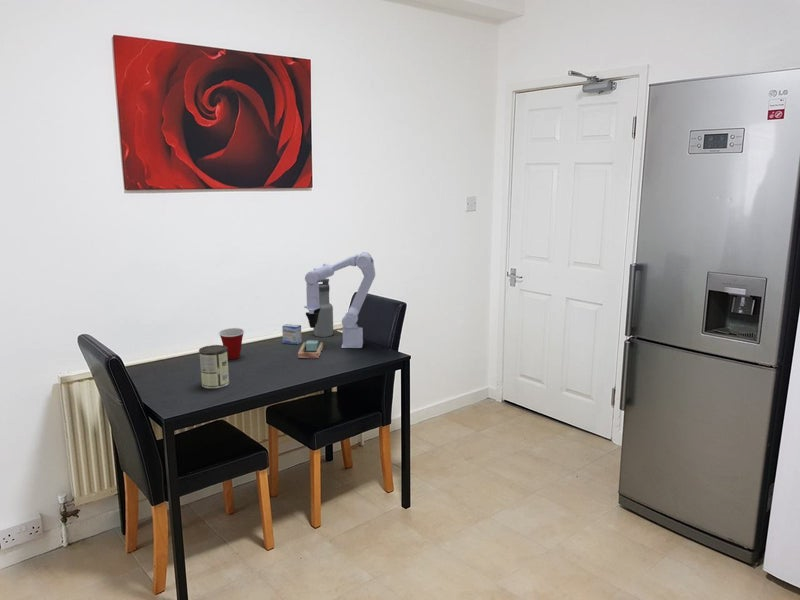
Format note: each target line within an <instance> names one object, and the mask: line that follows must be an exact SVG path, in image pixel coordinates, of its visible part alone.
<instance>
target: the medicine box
mask: <svg viewBox="0 0 800 600" xmlns="http://www.w3.org/2000/svg"><path fill="white" fill-rule="evenodd" d="M281 331H282V344H283V343H288V344H287V345H296V344H298V345H299V343H300V344H301V343H303V341H302V325H300V324H291V323H290V324H289V323H286V324H283V325H282V330H281Z"/></svg>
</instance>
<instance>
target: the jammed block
mask: <svg viewBox="0 0 800 600" xmlns="http://www.w3.org/2000/svg"><path fill="white" fill-rule="evenodd" d="M305 342H306V349H305V351H306V352H316V351H317V349H318V347H319V340H318V339H317V340H316V339H315V340H313V339H312V340H311V339H310V340H309V339H308V340H307V341H305Z"/></svg>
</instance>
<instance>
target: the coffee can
mask: <svg viewBox="0 0 800 600" xmlns="http://www.w3.org/2000/svg"><path fill="white" fill-rule="evenodd" d="M198 352H199V362H200V365H199V367H200V376H201V386H202V387H203V388H205V389H220V388H224V387H226V386H228V385H230V375H229V374H230V373H229V359H228V355H227V347H226V346H223V344H213V345H206V346H203V347H201V348H199V349H198Z"/></svg>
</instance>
